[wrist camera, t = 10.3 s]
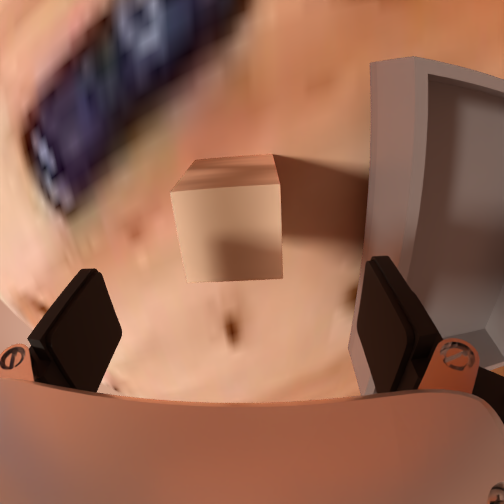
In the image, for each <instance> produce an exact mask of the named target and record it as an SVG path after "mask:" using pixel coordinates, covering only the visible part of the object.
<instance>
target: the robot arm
mask: <svg viewBox="0 0 504 504" xmlns="http://www.w3.org/2000/svg"><path fill="white" fill-rule="evenodd" d="M357 332H358V335H359V338H360V341H361V344H362V347H363V350H364V353H365V356H366V360H367V363H368V366H369V369H370V372H371V375H372V378H373V382H374V385H375V388H376V392H377V394H370V395H362V396H353V397H343V398H333V399H321V400H308V401H293V402H271V403H206V402H183V401H168V400H155V399H144V398H135V397H126V396H117V395H110V394H103V393H96V392H97V390H98V388H99V385H100V383H101V381H102V379H103V376H104V374H105V372H106V369H107V367H108V365H109V363H110V361H111V358H112V356H113V354H114V352H115V350H116V348H117V345H118V343H119V341H120V339H121V336H122V329H121V326H120V324H119V321H118V318H117V316H116V313H115V310H114V308H113V305H112V302H111V299H110V296H109V294H108V291H107V288H106V285H105V282H104V279H103V276H102V274H101V273H100V272H98V271H97V269H81V270H80V271H79V272H78V273H77V275H76V276H75V277H74V278H73V279H72V281H71V282H70V283H69V284H68V286H67V287H66V288H65V289H64V291H63V292H62V293H61V294H60V296H59V297H58V298H57V299H56V301H55V302H54V303H53V305H52V306H51V307H50V308H49V310H48V311H47V312H46V314H45V315H44V316H43V318H42V319H41V320H40V322H39V323H38V324H37V326H36V327H35V328H34V330H33V331H32V333H31V334H30V335H29V337H28V338H27V339H28V341H29V342H30V344H31V347H30V348H28V347H27V346H26V345H24V344H15V345H12V346H10V347H8V348H7V349H5V350H4V351H3V352H2V353H1V354H0V504H504V377H503V376H501V375H498V374H496V373H494V372H491V371H489V370H487V369H485V368H482V367H480V366H479V361H480V358H479V355H478V352H477V351H476V349H475V348H474V347H473V346H472V345H471V344H470V343H468V342H466V341H464V340H461V339H457V338H448V339H445V340H443V338H442V336H441V335H440V333H439V331H438V330H437V328H436V326H435V324H434V323H433V321H432V319H431V318H430V316H429V315H428V313H427V311H426V310H425V308H424V306H423V305H422V303H421V302H420V300H419V299H418V297H417V295H416V294H415V293H414V292H413V291H412V290H411V289H410V287H409V286H408V284H407V282H406V281H405V279H404V278H403V276H402V275H401V273H400V272H399V270H398V269H397V267H396V266H395V264H394V263H393V261H392V260H391V259H390V257H389V256H372V257H371V260H370V261H366V264H365V271H364V279H363V286H362V293H361V299H360V306H359V312H358V318H357Z"/></svg>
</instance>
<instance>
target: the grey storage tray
mask: <svg viewBox="0 0 504 504" xmlns="http://www.w3.org/2000/svg"><path fill="white" fill-rule="evenodd" d="M370 85H371V141H370V169H369V187H368V201H367V214H366V225H365V235H364V245H363V253H362V262H361V270H360V277H359V284H358V291H357V298H356V304H355V311H354V317H353V322H352V328H351V334H350V339H349V344H348V350H349V353H350V357H351V360H352V364H353V367H354V371H355V374H356V378H357V382H358V385H359V389H360V393H361V396H362V395H370V394H377V392H376V388H375V385H374V382H373V378H372V375H371V372H370V369H369V366H368V363H367V360H366V356H365V353H364V350H363V347H362V344H361V341H360V338H359V335H358V332H357V318H358V312H359V306H360V299H361V293H362V286H363V279H364V271H365V264H366V261H370V260H371V257H372V256H389V257H390V259H391V260H392V261H393V263H394V264H395V266H396V267H397V269H398V270H399V272H400V273H401V275H402V276H403V278H404V279H405V281H406V282H407V284H408V286H409V287H410V289H411V290H412V291H413V292H414V293H415V294H416V295H417V297H418V299H419V300H420V302H421V303H422V305H423V306H424V308H425V310H426V311H427V313H428V315H429V316H430V318H431V319H432V321H433V323H434V324H435V326H436V328H437V330H438V331H439V333H440V335H441V336H442V338H443V340H445V339H448V338H457V339H461V340H464V341H466V342H468V343H470V344H471V345H472V346H473V347H474V348H475V349H476V351H477V352H478V355H479V358H480V361H479V366H480V367H482V368H485V369H487V370H492V369H495V368H498V367H501V366H504V80H503V79H500V78H497V77H494V76H491V75H488V74H485V73H481V72H478V71H475V70H471V69H468V68H464V67H460V66H456V65H452V64H448V63H444V62H439V61H435V60H430V59H425V58H420V57H414V56H413V57H405V58H397V59H390V60H384V61H377V62H372V63H370Z"/></svg>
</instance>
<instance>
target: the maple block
mask: <svg viewBox="0 0 504 504" xmlns="http://www.w3.org/2000/svg"><path fill="white" fill-rule="evenodd" d="M170 196H171V202H172V208H173V213H174V219H175V225H176V230H177V235H178V241H179V246H180V251H181V256H182V261H183V266H184V271H185V276H186V281H187V283H198V282H223V281H245V280H265V279H283V267H282V225H281V194H280V182H279V178H278V174H277V170H276V166H275V162H274V158H273V154H267V155H249V156H235V157H222V158H210V159H200V160H195V161H194V162H193V163H192V165H191V166H190V167H189V168H188V170H187V171H186V172H185V173H184V175H183V176H182V177H181V178H180V180H179V181H178V182H177V184H176V185H175V186H174V187H173V189H172V190H171V191H170Z"/></svg>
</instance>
